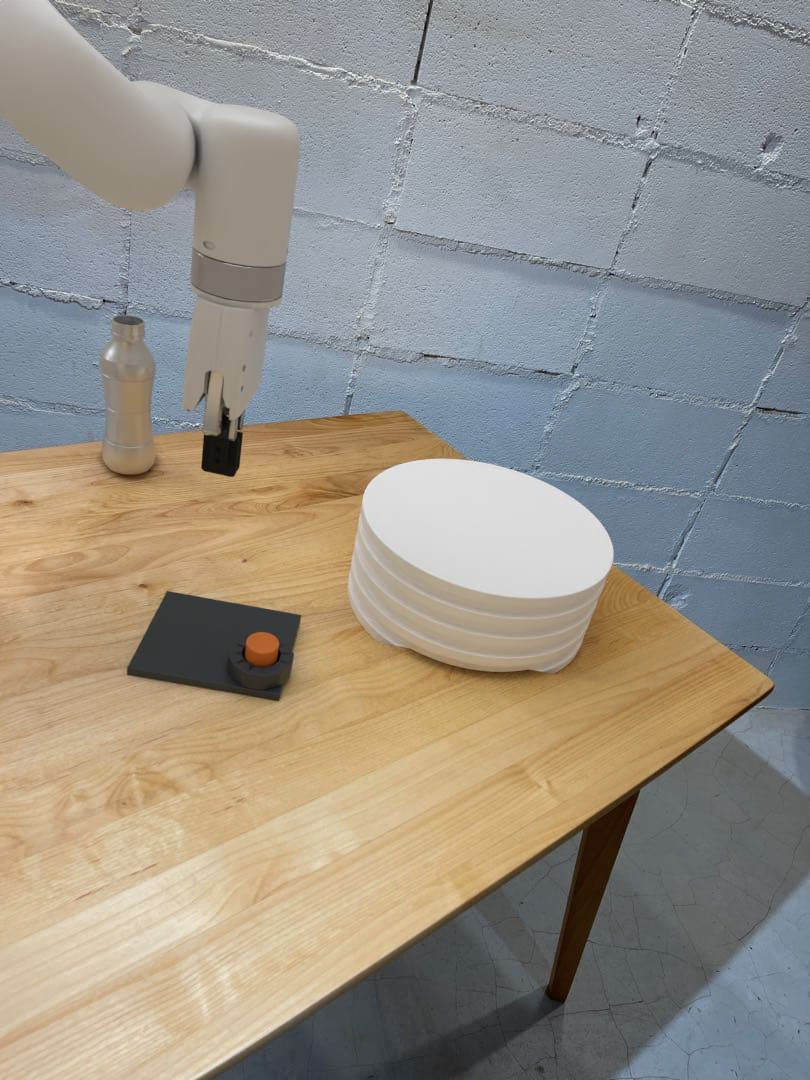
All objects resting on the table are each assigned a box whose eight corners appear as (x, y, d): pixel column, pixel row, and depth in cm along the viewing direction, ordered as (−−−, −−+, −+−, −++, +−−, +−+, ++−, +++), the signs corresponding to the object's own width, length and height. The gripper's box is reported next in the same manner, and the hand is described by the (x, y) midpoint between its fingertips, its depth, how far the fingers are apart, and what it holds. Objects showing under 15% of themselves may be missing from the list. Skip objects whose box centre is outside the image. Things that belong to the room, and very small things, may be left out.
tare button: (241, 664, 75) (243, 649, 74) (248, 643, 77) (250, 629, 76) (274, 670, 75) (275, 655, 74) (280, 649, 77) (281, 634, 76)
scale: (126, 685, 75) (126, 652, 73) (166, 607, 85) (167, 576, 83) (282, 712, 76) (287, 680, 73) (303, 631, 86) (307, 601, 84)
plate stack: (622, 616, 99) (655, 537, 93) (497, 727, 79) (528, 636, 73) (442, 513, 112) (461, 439, 106) (296, 586, 92) (308, 499, 86)
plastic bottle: (142, 485, 104) (144, 334, 93) (92, 473, 104) (88, 321, 94) (163, 464, 109) (167, 319, 99) (115, 452, 110) (113, 306, 99)
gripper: (217, 246, 73) (203, 429, 83) (162, 289, 60) (153, 500, 70) (300, 264, 73) (276, 445, 83) (262, 311, 61) (239, 518, 70)
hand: (220, 469), depth 77 cm, fingers closed
